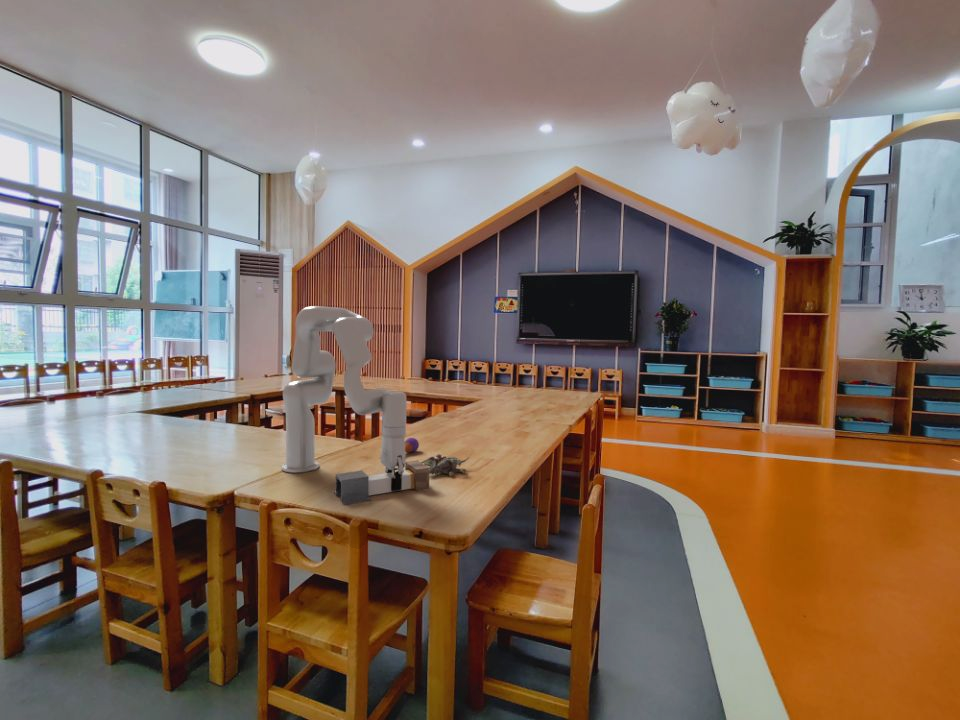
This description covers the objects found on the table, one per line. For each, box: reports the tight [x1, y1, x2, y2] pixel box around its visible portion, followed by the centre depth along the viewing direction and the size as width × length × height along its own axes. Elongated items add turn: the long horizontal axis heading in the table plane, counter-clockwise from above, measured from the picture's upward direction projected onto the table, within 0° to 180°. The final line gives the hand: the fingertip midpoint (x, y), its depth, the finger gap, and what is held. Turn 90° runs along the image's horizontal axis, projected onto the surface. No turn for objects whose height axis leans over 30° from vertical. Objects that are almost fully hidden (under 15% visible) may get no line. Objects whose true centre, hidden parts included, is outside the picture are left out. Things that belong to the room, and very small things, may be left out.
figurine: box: [420, 454, 470, 477], centre depth 171 cm, size 20×6×17 cm
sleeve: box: [333, 470, 372, 506], centre depth 143 cm, size 11×8×7 cm
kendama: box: [405, 437, 420, 453], centre depth 189 cm, size 6×6×20 cm
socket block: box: [404, 460, 430, 492], centre depth 154 cm, size 9×4×7 cm, turn 31°
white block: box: [368, 469, 414, 497], centre depth 148 cm, size 5×18×5 cm, turn 121°
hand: (393, 487), depth 150 cm, fingers closed on white block, 4 cm apart
